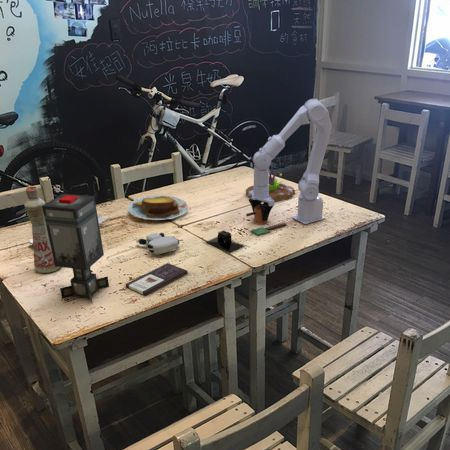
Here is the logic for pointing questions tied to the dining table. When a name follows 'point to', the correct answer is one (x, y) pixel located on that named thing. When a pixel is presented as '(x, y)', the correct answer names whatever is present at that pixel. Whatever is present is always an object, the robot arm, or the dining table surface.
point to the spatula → (266, 229)
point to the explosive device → (75, 241)
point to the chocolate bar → (156, 279)
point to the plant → (276, 189)
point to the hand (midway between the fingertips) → (260, 218)
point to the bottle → (39, 232)
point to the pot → (257, 215)
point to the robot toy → (159, 243)
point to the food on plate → (157, 207)
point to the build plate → (225, 242)
